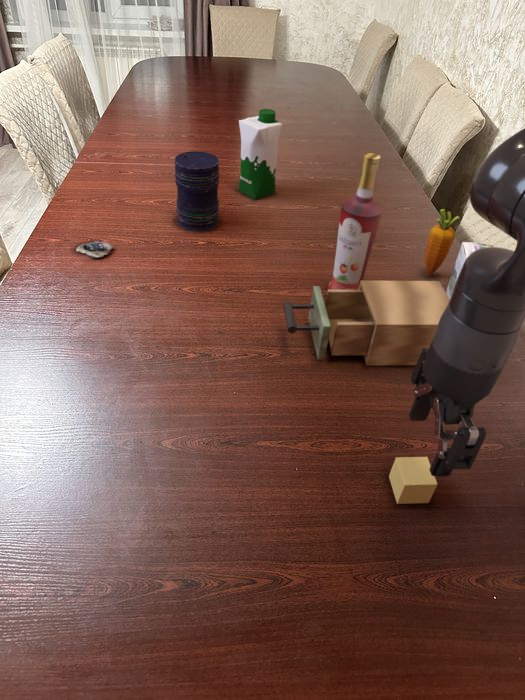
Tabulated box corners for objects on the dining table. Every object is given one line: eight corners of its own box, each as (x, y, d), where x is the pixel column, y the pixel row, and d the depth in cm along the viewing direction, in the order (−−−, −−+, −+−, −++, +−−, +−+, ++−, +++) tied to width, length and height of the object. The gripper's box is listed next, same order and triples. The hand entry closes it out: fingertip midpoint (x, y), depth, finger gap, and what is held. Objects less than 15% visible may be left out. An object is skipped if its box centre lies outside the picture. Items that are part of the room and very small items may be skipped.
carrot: (445, 278, 112) (468, 214, 102) (428, 283, 110) (449, 219, 100) (429, 266, 115) (449, 203, 105) (412, 272, 113) (431, 208, 103)
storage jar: (226, 218, 126) (227, 157, 116) (206, 235, 119) (205, 172, 110) (190, 208, 129) (188, 147, 119) (169, 224, 122) (165, 162, 112)
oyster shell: (104, 262, 109) (103, 254, 108) (68, 256, 110) (67, 248, 108) (117, 246, 114) (116, 238, 113) (83, 240, 115) (82, 232, 113)
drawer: (286, 359, 88) (290, 326, 83) (279, 318, 97) (283, 285, 92) (394, 359, 90) (404, 326, 85) (378, 318, 98) (387, 286, 94)
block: (418, 475, 73) (427, 456, 70) (428, 503, 70) (438, 484, 67) (388, 476, 73) (395, 457, 70) (396, 504, 69) (404, 485, 67)
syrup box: (473, 326, 100) (501, 260, 90) (442, 321, 100) (466, 256, 91) (469, 308, 104) (495, 244, 95) (439, 304, 105) (462, 240, 95)
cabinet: (366, 365, 90) (377, 324, 84) (351, 320, 99) (360, 280, 93) (447, 365, 91) (464, 324, 85) (425, 320, 100) (439, 280, 94)
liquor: (368, 291, 106) (401, 155, 88) (352, 308, 102) (383, 168, 83) (337, 279, 109) (362, 144, 91) (320, 294, 105) (342, 156, 86)
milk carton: (280, 193, 138) (287, 115, 125) (254, 202, 134) (258, 121, 120) (258, 182, 143) (262, 105, 130) (232, 190, 138) (234, 110, 125)
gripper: (535, 396, 49) (477, 493, 60) (478, 305, 60) (437, 402, 70) (459, 397, 48) (414, 495, 59) (414, 305, 59) (383, 402, 70)
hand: (427, 444), depth 65 cm, fingers open, 8 cm apart
